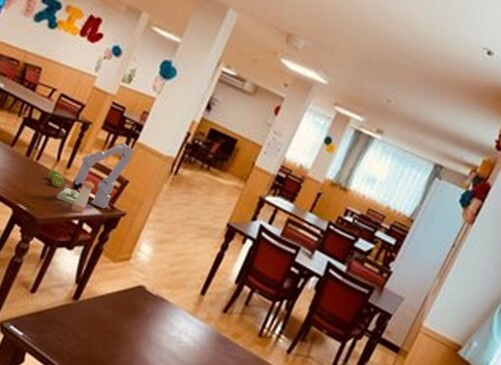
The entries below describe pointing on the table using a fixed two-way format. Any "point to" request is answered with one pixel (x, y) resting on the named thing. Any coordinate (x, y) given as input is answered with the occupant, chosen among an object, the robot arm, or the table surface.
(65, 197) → the pale green box
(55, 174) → the dumbbell
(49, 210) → the table surface
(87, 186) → the pepper shaker
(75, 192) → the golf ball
